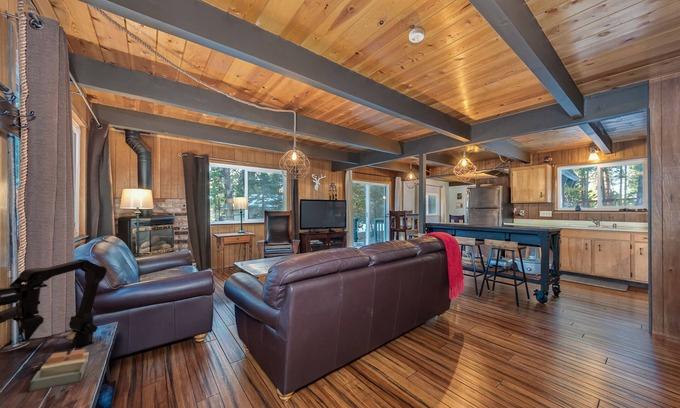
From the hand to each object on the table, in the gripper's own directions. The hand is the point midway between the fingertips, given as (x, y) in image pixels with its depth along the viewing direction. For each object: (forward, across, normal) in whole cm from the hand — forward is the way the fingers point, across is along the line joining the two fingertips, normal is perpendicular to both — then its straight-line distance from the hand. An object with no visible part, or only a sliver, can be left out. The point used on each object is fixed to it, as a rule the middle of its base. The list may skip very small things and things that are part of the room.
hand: (23, 336), depth 112 cm
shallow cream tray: (+13, +14, +10) cm, 22 cm away
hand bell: (+14, -20, +23) cm, 34 cm away
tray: (+13, +22, +7) cm, 26 cm away
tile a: (+10, +14, +14) cm, 22 cm away
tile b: (+9, +11, +8) cm, 17 cm away
